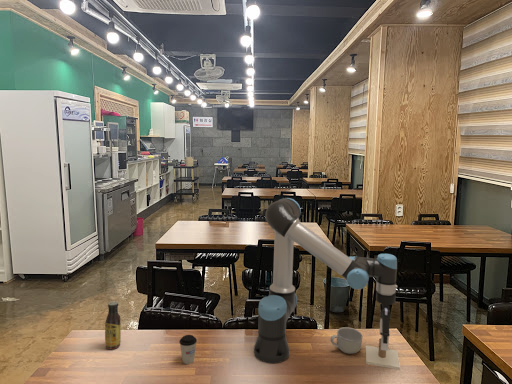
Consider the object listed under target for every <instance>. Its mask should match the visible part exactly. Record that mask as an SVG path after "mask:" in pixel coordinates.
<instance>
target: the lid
mask: <svg viewBox="0 0 512 384" xmlns="http://www.w3.org/2000/svg"><path fill="white" fill-rule="evenodd" d="M368 364H369V366H374V365H375V366H374V367H381V368H385V367H386V369H391V368H392V369H393V370H397V369H398V370H399V371H401V364H400V359H399V352H398V350H397V349H393V348H392V349H391V348H390V349H389V348H388V351H385V350H381V337H380V338H379V340H378V347H377V346H372V345H365V365H368Z"/></svg>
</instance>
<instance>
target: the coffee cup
mask: <svg viewBox="0 0 512 384" xmlns="http://www.w3.org/2000/svg"><path fill="white" fill-rule="evenodd" d="M197 340H198V339H197V338H196V337H195V335H192V334H185V335H183V336H182V337H181V338H180V339H179V346H180V353H181V359H182V360H181V361H182V363H183V364H184V365H190V364H193V363H194V362H195V354H196V347H197Z"/></svg>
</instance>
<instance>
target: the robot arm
mask: <svg viewBox="0 0 512 384" xmlns="http://www.w3.org/2000/svg"><path fill="white" fill-rule="evenodd" d="M301 210H302V209H301V207H300V204H299V203H298V201H296V200H295V199H294V198H290V197H285V198H284V197H282V198H280V199H278V200H276V201H274V202H272V203H270V204H269V205H268V207H266V210H265V220H266V223H267V224H268V225H269V227H271V230H272V231H273V232H274V240H273V241H274V244H273V245H274V247H273V249H274V250H273V274H272V277H273V278H272V284H270V286H269V291H268V292H269V293H268V294H269V295H268V296H264V297H263V298H261V299H260V300H259V303H258V309H257V311H258V317H257V318H258V322H257V325H258V326H257V327H258V328H257V329H258V331H257V333H258V334H257V337H256V339H255V340H256V341H255V342H254V346H253V356H254V357H255V358H256V359H257V360H259V361H261V362H264V363H267V364H277V363H281V362H284V361H286V360H287V359H288V358H289V357H290V346H289V342H288V340H287V336H286V334H287V333H286V332H287V321H288V319H289V318H290V316H291V314H292V313H293V312H294V311H295V309H296V307H297V304H298V298H297V294H296V287H295V285H293V272H294V271H293V269H294V268H293V267H294V243H296V244H297V245H298V246H300V248H303V249H304V250H305V251H306V252H308V253H309V254H311V255H312V256H313V257H315V258H317V260H319V261H321V262H322V263H323V264H325V266H328V268H329V269H332V270H333V271H334V272H336V273H337V274H338V275H340V276H341V277H343V278H344V280H346V282H347V285H349V287H350V288H351V289H354V290H362V289H364V288H365V287H366V286H367V284H368V283H369V280H370V278H376V284H375V285H376V286H375V291H376V292H375V301H376V302H377V303H378V304H379V310H380V311H379V312H380V313H379V315H380V318H379V335H380V338H381V350H385V351H388V349H389V345H390V343H389V339H390V318H391V310H392V309H391V305H394V304H395V303H396V297H397V296H396V291H397V290H396V289H398V285H397V272H398V259H397V257H396V255H393V254H391V253H380V254H378V255H377V257H376V258H371V257H363V256H362V257H361V256H357V255H356V256H348V255H347V254H344V252H342V251H341V250H339V249H338V248H337V247H335V246H333V244H331V243H330V242H329V241H327V240H325V239H324V238H322V237H321V236H320V235H318V234H317V233H315V232H314V231H313V230H311V229H310V228H308V227H307V226H305V224H303V223H302V222H300V217H301V214H302V212H301Z"/></svg>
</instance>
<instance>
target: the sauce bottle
mask: <svg viewBox="0 0 512 384" xmlns="http://www.w3.org/2000/svg"><path fill="white" fill-rule="evenodd" d="M107 307H108V311H107V316H106V319H105V322H104V325H105V327H104V331H105V332H104V334H105V335H104V345H105V348H106V349H107V350H116V349H118V348H119V347H120V345H121V335H122V333H121V330H122V329H121V325H122V323H121V315H120V314H119V310H118V309H119V302H118V301H114V300H113V301H109V302H108V303H107Z"/></svg>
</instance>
